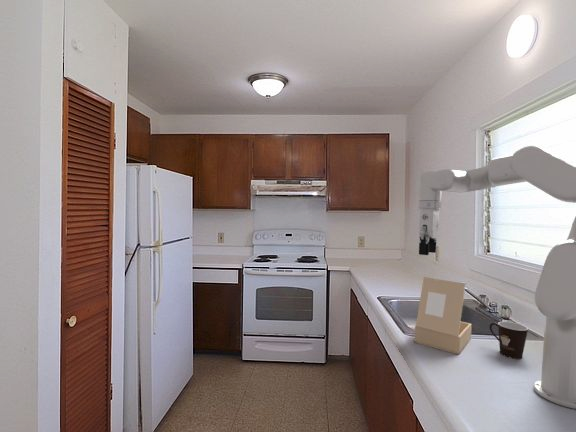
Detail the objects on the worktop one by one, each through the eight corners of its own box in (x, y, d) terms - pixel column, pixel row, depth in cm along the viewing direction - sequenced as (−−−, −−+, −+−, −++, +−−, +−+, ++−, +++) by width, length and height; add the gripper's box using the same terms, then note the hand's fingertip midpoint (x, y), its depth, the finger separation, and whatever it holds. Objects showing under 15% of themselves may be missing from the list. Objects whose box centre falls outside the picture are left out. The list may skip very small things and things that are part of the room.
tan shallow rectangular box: (470, 339, 131) (471, 323, 131) (459, 354, 117) (459, 337, 117) (429, 329, 140) (430, 314, 140) (414, 342, 126) (415, 325, 126)
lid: (465, 284, 121) (464, 283, 121) (458, 336, 117) (457, 336, 116) (424, 277, 130) (423, 277, 129) (416, 326, 126) (415, 325, 125)
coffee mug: (532, 361, 114) (534, 331, 114) (505, 359, 114) (507, 329, 114) (510, 346, 126) (512, 319, 125) (486, 345, 126) (488, 318, 126)
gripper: (434, 205, 116) (432, 257, 116) (446, 206, 130) (444, 252, 130) (411, 205, 120) (409, 254, 121) (425, 206, 134) (423, 250, 135)
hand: (427, 253), depth 125 cm, fingers open, 9 cm apart
